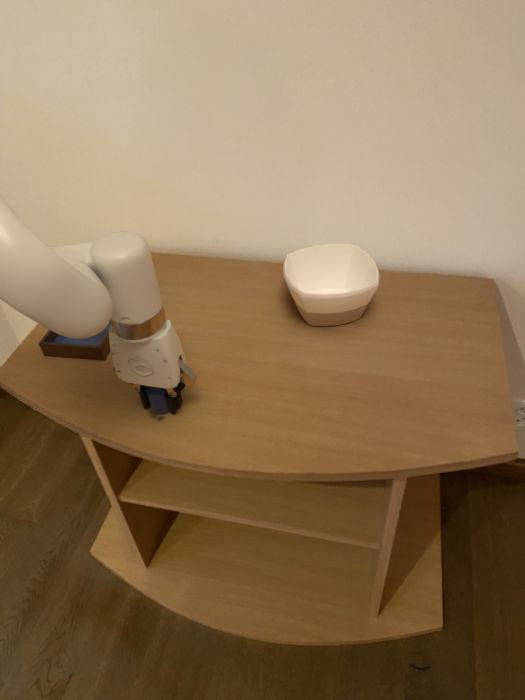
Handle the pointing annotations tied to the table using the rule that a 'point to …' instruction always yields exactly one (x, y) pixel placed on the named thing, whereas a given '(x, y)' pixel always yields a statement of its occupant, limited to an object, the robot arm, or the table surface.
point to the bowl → (331, 282)
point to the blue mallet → (158, 399)
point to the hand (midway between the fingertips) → (162, 404)
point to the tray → (76, 345)
